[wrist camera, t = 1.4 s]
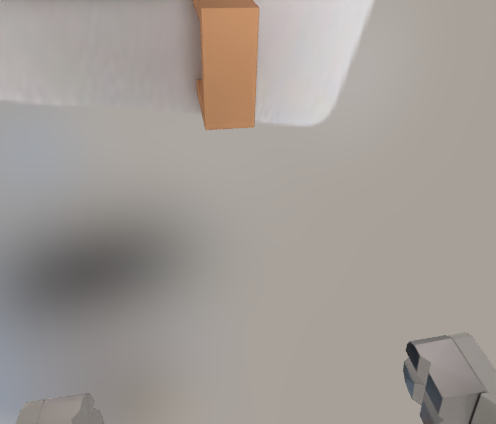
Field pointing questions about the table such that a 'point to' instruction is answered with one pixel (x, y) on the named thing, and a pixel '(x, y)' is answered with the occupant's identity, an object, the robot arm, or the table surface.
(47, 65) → the table surface
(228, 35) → the tan cardboard brick
